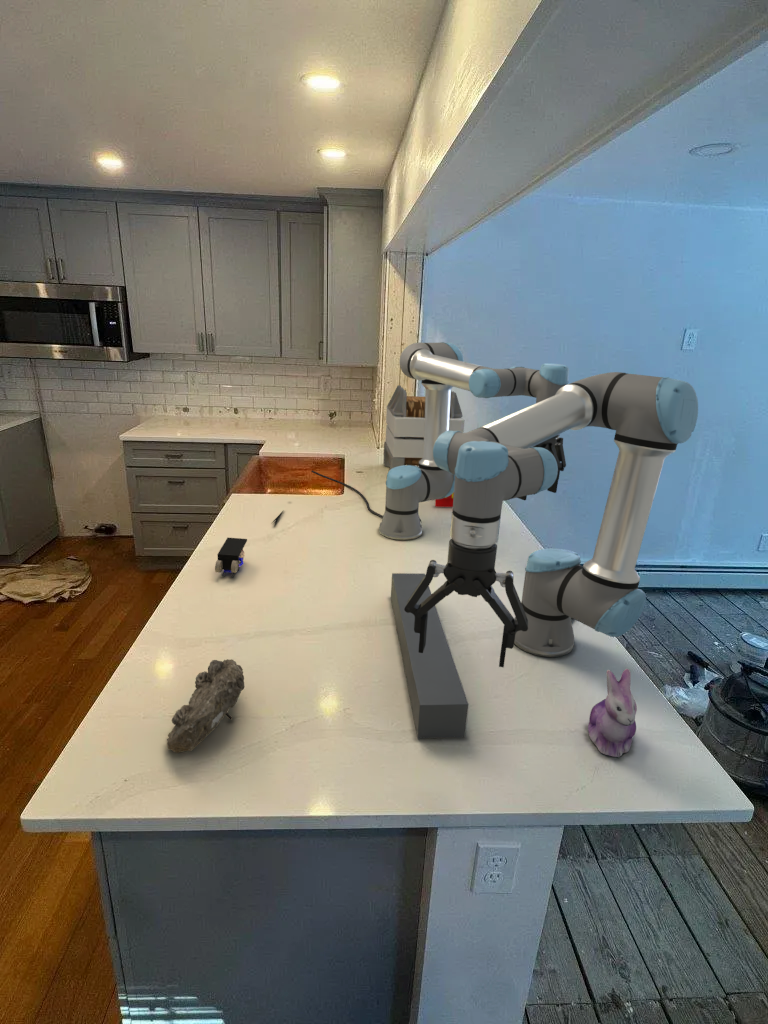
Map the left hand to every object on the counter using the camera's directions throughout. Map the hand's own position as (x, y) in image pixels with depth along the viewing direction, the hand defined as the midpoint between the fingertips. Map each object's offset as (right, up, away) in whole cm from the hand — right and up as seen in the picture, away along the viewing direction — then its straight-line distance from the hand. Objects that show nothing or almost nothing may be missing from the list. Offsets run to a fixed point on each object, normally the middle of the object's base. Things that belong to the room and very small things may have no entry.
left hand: (536, 495), depth 163 cm
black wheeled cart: (-89, -22, +4) cm, 92 cm away
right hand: (-31, -29, -67) cm, 79 cm away
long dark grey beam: (-36, -38, -33) cm, 61 cm away
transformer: (-27, +14, +111) cm, 116 cm away
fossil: (-77, -44, -55) cm, 104 cm away
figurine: (-1, -48, -57) cm, 74 cm away
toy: (-19, +2, +78) cm, 81 cm away
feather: (-83, -6, +50) cm, 97 cm away
